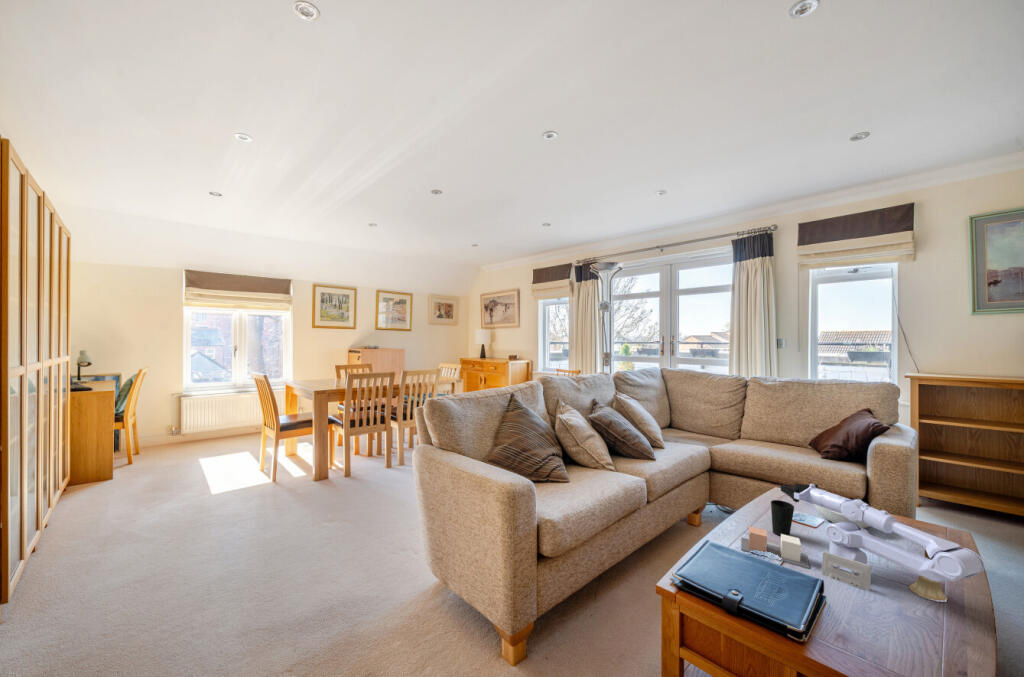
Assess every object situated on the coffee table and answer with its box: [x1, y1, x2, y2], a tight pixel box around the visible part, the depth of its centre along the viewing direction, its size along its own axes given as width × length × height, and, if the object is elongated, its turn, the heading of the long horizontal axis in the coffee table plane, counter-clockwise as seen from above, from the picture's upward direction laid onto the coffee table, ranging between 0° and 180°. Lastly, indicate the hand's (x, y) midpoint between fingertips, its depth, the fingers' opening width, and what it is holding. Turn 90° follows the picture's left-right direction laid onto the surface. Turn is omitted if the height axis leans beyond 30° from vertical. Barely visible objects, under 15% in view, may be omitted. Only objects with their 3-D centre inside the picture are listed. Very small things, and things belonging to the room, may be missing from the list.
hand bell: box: [908, 548, 947, 600], centre depth 122 cm, size 8×8×16 cm
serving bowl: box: [813, 504, 871, 529], centre depth 169 cm, size 21×21×7 cm
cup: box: [770, 499, 795, 538], centre depth 157 cm, size 8×8×12 cm
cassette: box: [821, 550, 872, 592], centre depth 127 cm, size 12×2×8 cm, turn 49°
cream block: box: [779, 534, 802, 562], centre depth 141 cm, size 5×5×6 cm
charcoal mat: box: [740, 537, 810, 570], centre depth 143 cm, size 20×10×1 cm, turn 59°
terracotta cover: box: [748, 525, 768, 552], centre depth 146 cm, size 5×5×6 cm
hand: (788, 487), depth 153 cm, fingers open, 7 cm apart
